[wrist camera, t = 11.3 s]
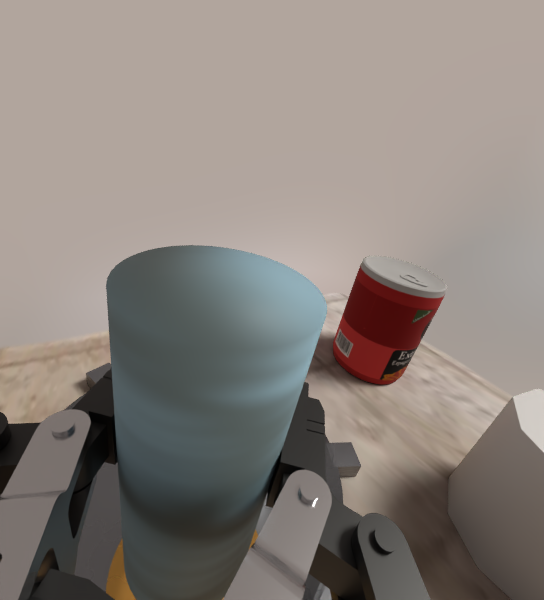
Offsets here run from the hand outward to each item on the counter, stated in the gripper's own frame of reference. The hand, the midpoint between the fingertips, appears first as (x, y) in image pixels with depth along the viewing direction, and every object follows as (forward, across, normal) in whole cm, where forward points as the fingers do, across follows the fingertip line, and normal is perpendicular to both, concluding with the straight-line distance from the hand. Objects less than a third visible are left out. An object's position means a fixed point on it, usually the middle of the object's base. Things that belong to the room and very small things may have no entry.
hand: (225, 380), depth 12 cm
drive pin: (-3, 0, +6) cm, 7 cm away
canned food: (+19, -12, +11) cm, 25 cm away
